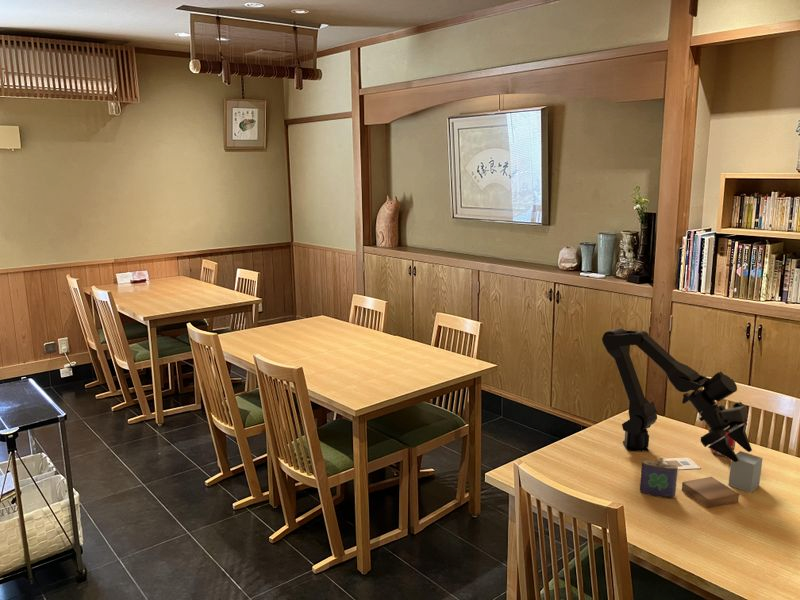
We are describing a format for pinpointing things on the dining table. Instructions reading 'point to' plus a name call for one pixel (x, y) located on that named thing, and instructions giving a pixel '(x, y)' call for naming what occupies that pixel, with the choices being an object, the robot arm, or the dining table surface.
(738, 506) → the dining table surface
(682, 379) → the robot arm
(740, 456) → the tower block
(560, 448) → the dining table surface
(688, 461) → the page
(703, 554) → the dining table surface
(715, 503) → the base brick
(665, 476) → the flask
